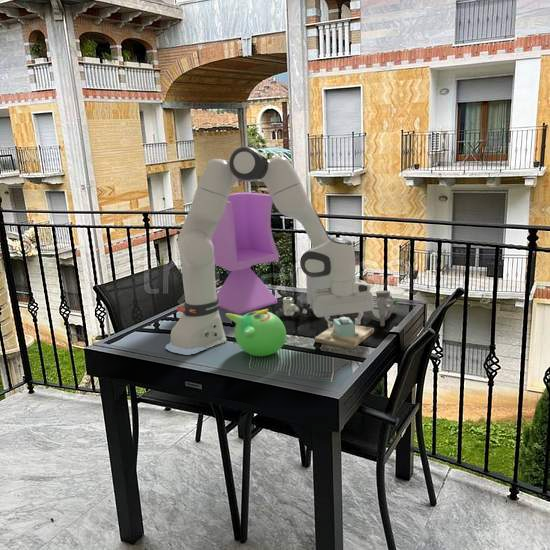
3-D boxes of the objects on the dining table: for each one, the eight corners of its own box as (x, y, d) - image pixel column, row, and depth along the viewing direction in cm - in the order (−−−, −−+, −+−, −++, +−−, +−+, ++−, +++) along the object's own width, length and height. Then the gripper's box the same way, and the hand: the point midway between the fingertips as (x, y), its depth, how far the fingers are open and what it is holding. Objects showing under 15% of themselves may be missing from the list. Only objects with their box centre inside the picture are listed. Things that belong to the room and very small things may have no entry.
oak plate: (352, 349, 172) (352, 344, 172) (315, 341, 180) (314, 337, 180) (374, 332, 185) (373, 328, 184) (338, 326, 193) (338, 322, 192)
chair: (236, 317, 210) (225, 202, 198) (208, 304, 228) (196, 199, 216) (282, 303, 223) (274, 194, 211) (251, 292, 240) (242, 191, 228)
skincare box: (312, 311, 210) (309, 274, 206) (307, 306, 216) (304, 271, 212) (332, 307, 212) (330, 271, 208) (326, 303, 218) (324, 268, 214)
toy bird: (297, 355, 171) (294, 311, 167) (249, 370, 163) (245, 324, 159) (269, 338, 186) (266, 298, 182) (225, 351, 178) (220, 309, 174)
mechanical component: (370, 322, 194) (369, 296, 191) (398, 325, 189) (397, 298, 186) (367, 325, 191) (366, 298, 189) (395, 328, 186) (394, 301, 183)
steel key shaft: (349, 334, 180) (348, 320, 179) (343, 335, 180) (342, 321, 179) (345, 330, 184) (345, 316, 183) (340, 331, 184) (339, 317, 182)
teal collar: (355, 335, 179) (355, 323, 178) (339, 337, 178) (339, 325, 177) (348, 328, 186) (348, 316, 185) (333, 330, 185) (333, 318, 184)
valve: (278, 315, 208) (300, 322, 199) (277, 299, 207) (299, 305, 198) (291, 311, 212) (312, 317, 203) (290, 295, 211) (311, 301, 202)
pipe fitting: (389, 322, 191) (388, 294, 190) (368, 321, 196) (367, 293, 194) (402, 315, 201) (401, 288, 199) (382, 314, 205) (381, 288, 204)
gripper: (314, 292, 173) (316, 332, 177) (375, 285, 176) (375, 325, 180) (310, 287, 179) (312, 326, 183) (368, 280, 182) (369, 318, 186)
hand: (344, 325), depth 181 cm, fingers open, 8 cm apart
